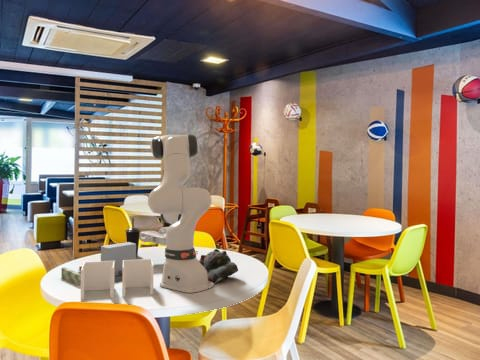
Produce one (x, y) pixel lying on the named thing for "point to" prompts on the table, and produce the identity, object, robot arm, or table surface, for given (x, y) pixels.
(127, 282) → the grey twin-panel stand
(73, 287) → the table surface
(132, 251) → the slate block
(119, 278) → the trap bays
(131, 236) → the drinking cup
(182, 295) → the table surface
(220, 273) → the dark grey lumpy object
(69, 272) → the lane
